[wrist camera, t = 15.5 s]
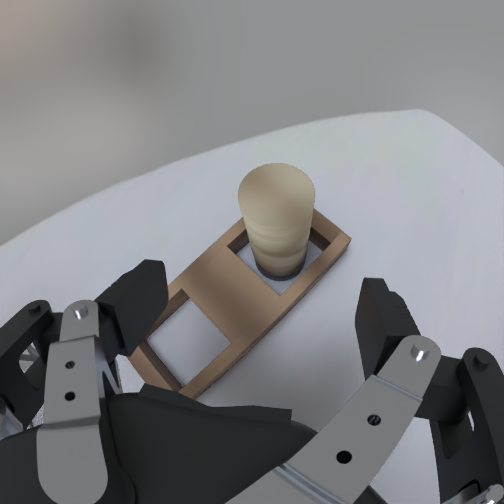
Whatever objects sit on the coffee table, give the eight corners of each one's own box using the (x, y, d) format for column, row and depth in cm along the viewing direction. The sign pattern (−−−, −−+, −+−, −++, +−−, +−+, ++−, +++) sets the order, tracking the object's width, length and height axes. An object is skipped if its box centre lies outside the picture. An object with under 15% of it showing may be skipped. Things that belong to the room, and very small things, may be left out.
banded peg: (279, 225, 26) (274, 152, 17) (315, 256, 25) (330, 191, 16) (245, 257, 25) (222, 195, 16) (280, 291, 24) (278, 242, 15)
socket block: (281, 198, 27) (280, 183, 25) (346, 250, 25) (351, 238, 22) (128, 341, 23) (113, 338, 21) (182, 410, 21) (171, 414, 18)
